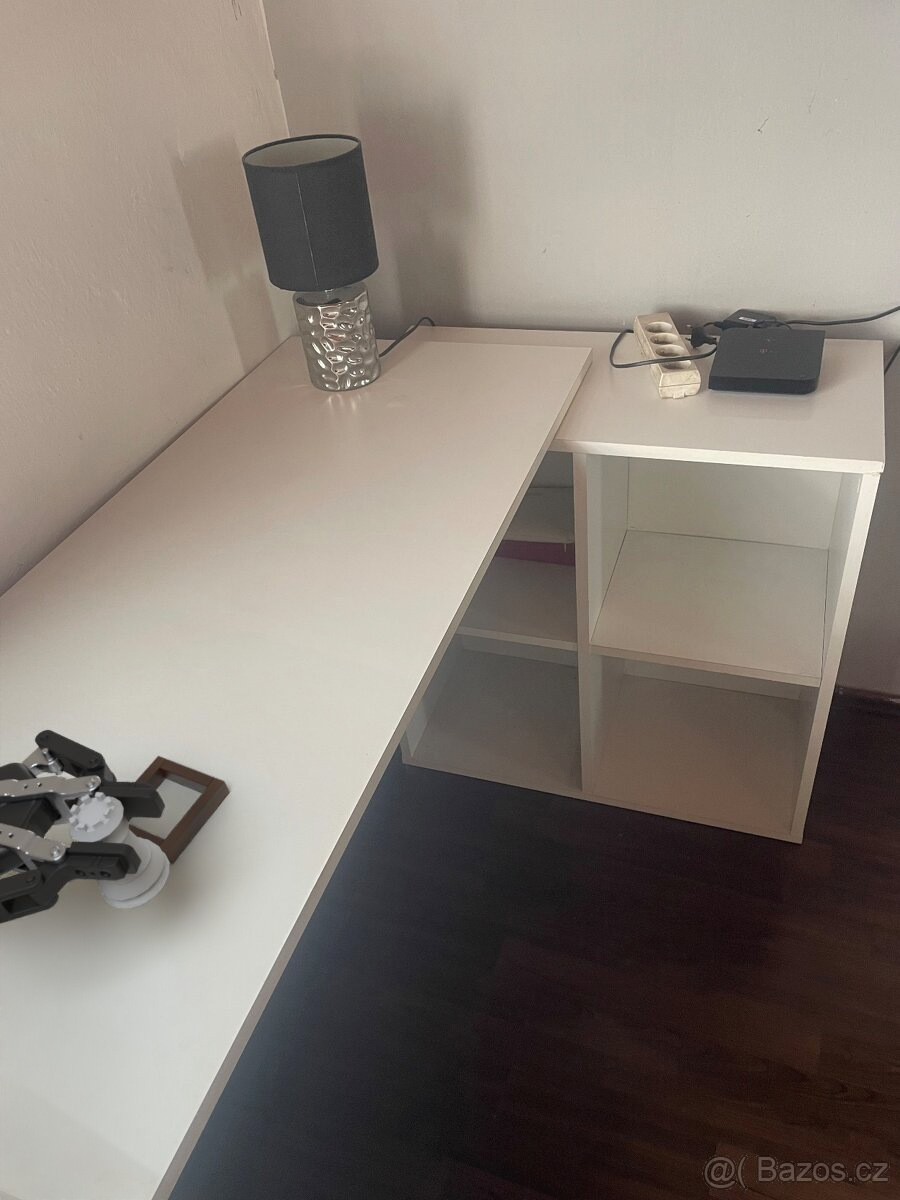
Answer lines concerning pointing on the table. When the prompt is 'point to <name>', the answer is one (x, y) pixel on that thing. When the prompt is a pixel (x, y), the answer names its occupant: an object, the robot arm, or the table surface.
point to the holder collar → (196, 815)
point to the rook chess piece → (109, 825)
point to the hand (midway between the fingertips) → (146, 830)
